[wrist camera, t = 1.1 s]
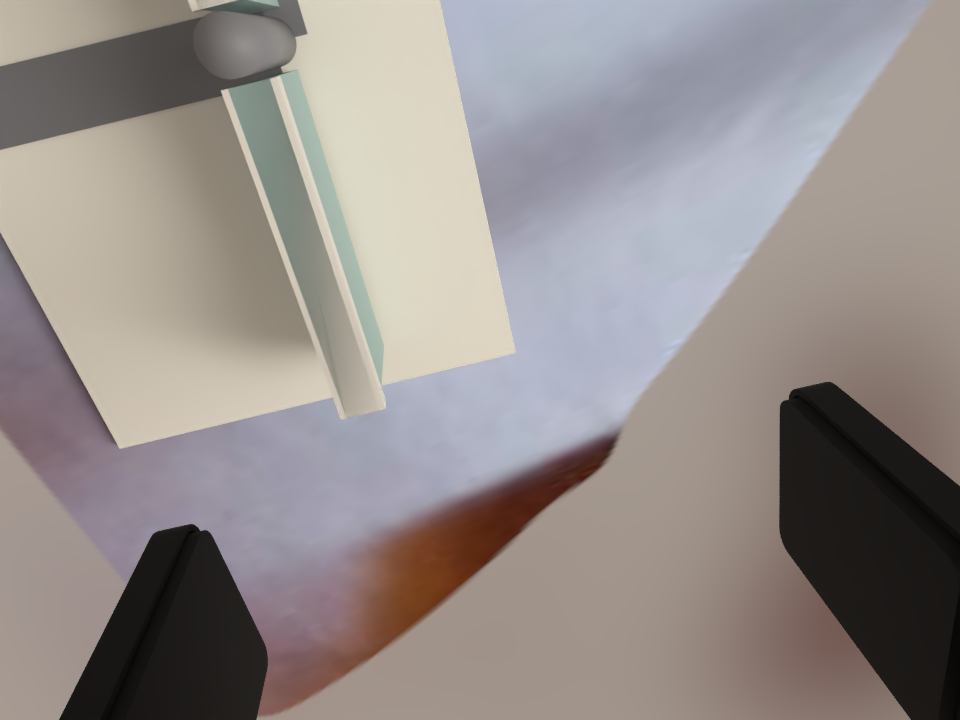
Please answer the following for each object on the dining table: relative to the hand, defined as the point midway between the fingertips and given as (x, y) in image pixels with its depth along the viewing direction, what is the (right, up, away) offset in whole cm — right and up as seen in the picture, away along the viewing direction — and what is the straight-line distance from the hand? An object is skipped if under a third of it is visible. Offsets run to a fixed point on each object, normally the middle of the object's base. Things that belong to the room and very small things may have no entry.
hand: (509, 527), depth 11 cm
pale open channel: (-6, +8, +15) cm, 18 cm away
